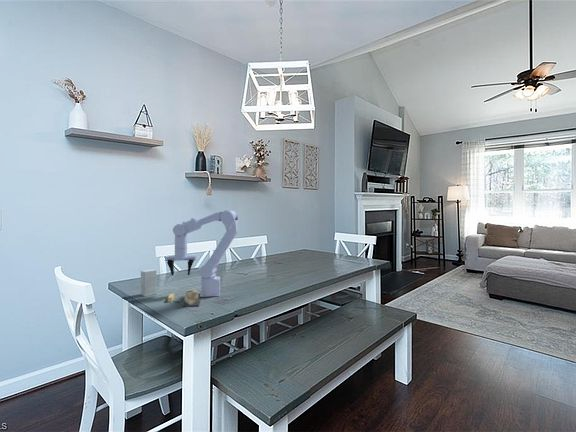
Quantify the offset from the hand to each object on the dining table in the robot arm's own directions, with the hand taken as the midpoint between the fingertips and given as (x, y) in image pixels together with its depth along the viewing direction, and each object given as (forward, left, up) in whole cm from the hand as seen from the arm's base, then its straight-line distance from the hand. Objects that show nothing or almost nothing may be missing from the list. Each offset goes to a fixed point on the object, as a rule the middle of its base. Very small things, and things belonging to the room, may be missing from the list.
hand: (180, 274), depth 147 cm
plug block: (-8, +17, -9) cm, 20 cm away
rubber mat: (-8, +17, -9) cm, 21 cm away
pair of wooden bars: (-1, +9, -10) cm, 13 cm away
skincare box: (+15, -1, -10) cm, 18 cm away
